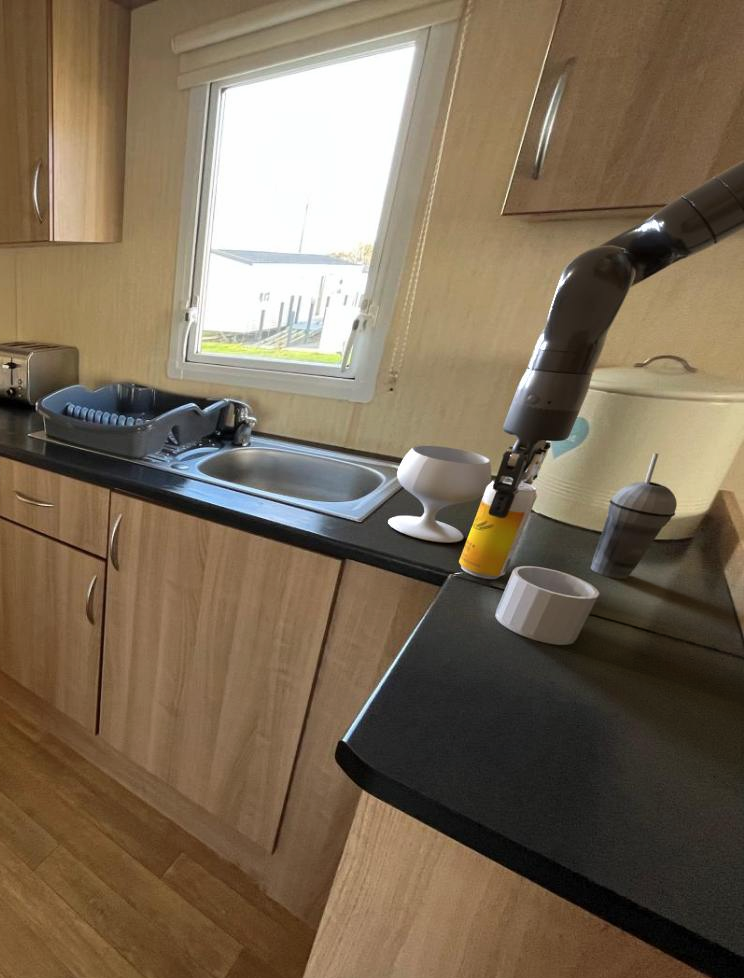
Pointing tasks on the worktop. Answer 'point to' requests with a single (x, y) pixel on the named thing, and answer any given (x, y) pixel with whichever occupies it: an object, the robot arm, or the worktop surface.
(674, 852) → the worktop surface
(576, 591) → the can holder
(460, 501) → the chalice
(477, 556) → the beer can
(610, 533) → the beverage cup
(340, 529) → the worktop surface
